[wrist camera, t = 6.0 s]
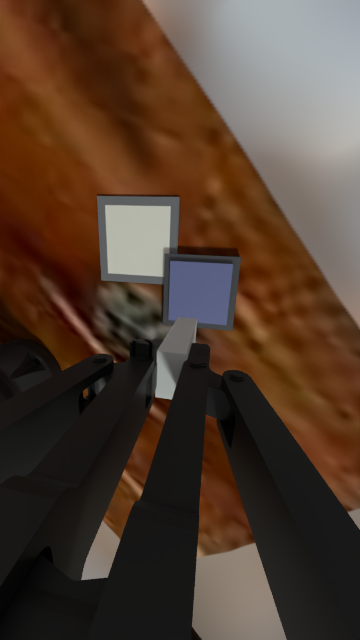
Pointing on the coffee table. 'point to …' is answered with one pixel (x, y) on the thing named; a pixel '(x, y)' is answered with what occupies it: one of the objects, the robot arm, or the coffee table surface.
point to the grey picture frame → (136, 237)
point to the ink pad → (201, 289)
